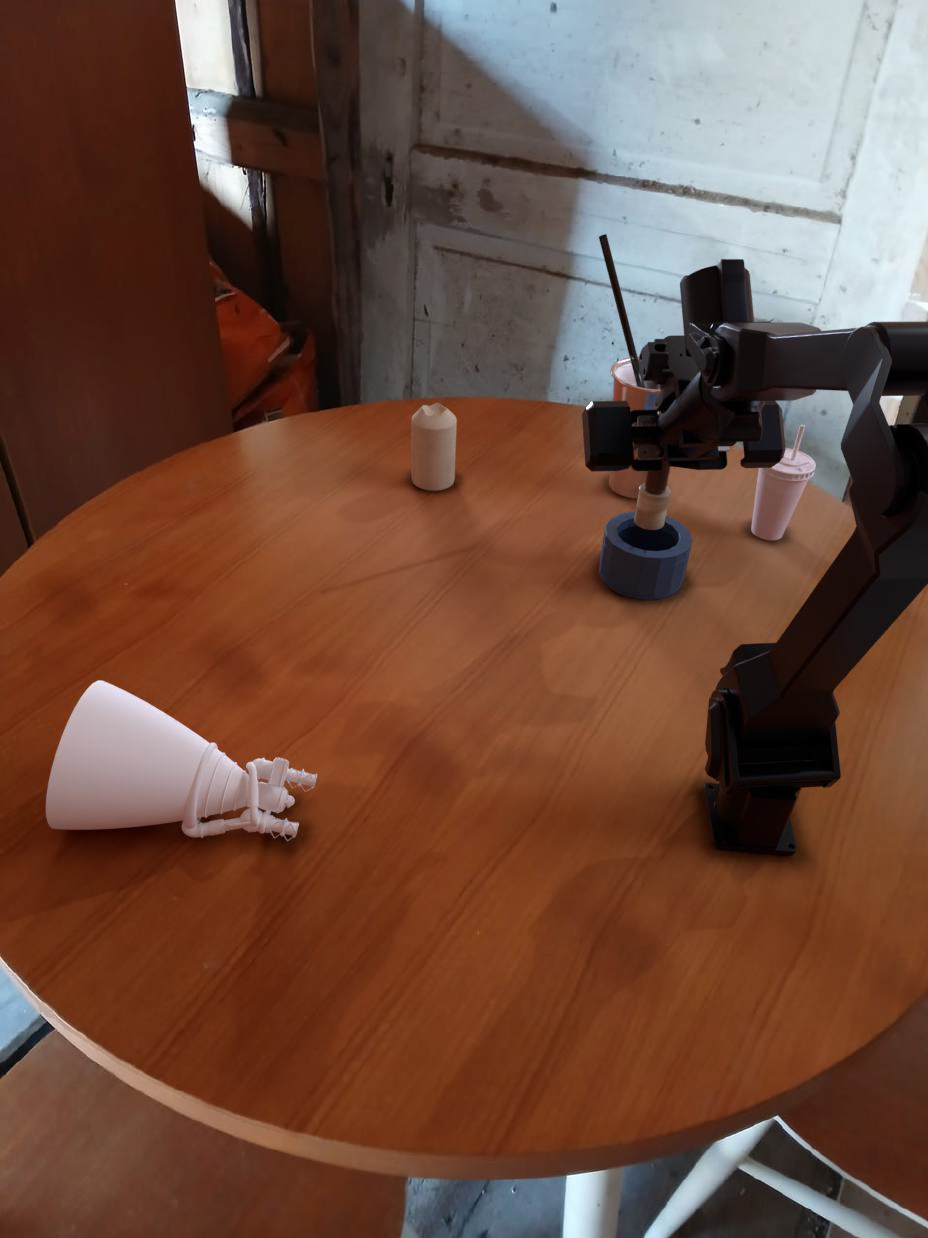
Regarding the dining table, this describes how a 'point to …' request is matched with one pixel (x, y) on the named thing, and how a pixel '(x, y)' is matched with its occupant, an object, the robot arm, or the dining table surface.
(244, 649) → the dining table surface
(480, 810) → the dining table surface
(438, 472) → the candle
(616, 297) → the glass
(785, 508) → the smoothie
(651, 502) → the pestle
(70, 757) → the rocket engine
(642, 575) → the jar
